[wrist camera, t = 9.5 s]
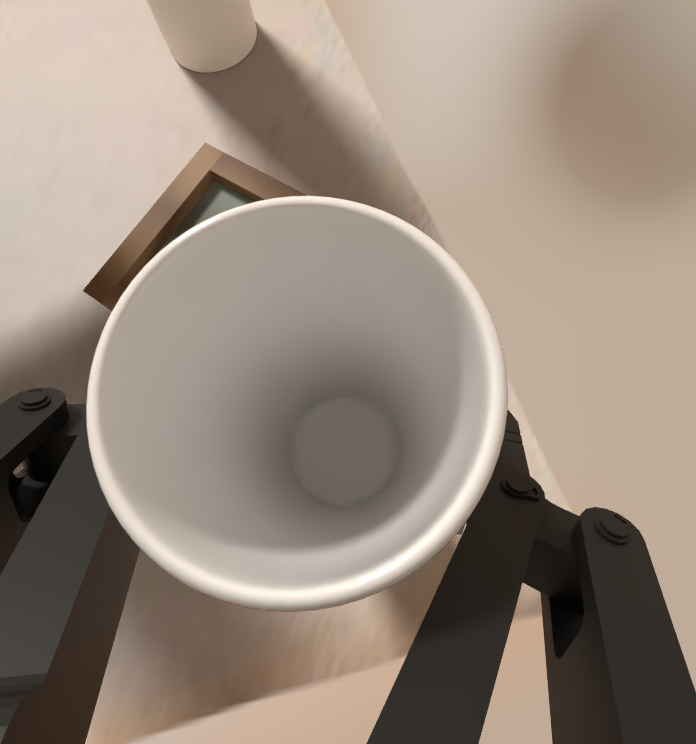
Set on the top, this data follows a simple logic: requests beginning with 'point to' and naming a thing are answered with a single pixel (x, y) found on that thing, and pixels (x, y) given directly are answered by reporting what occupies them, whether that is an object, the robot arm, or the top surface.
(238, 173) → the wooden tray
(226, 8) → the cylindrical container
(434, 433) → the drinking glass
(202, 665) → the top surface
